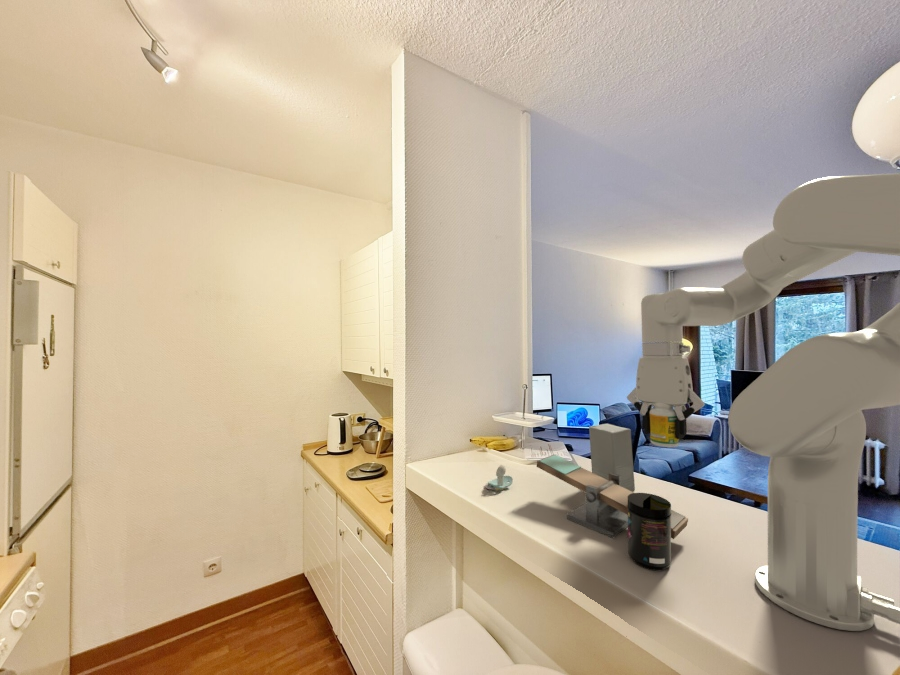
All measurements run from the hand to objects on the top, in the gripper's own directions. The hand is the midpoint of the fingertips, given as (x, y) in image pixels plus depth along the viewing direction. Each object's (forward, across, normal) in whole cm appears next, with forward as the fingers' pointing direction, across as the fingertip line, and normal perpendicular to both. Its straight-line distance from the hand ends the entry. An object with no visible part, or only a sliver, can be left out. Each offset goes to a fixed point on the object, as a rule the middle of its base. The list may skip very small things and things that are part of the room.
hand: (664, 434), depth 80 cm
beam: (+13, +9, +10) cm, 18 cm away
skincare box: (+18, +15, -6) cm, 24 cm away
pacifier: (+17, +35, +14) cm, 42 cm away
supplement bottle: (+2, 0, 0) cm, 2 cm away
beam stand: (+18, +9, +10) cm, 22 cm away
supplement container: (+18, -3, +18) cm, 26 cm away
